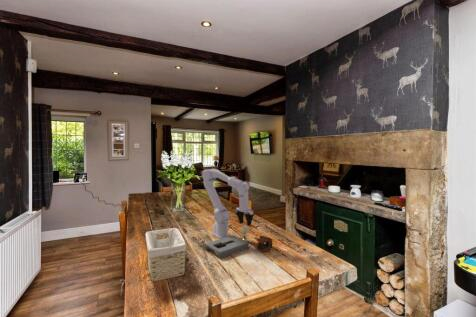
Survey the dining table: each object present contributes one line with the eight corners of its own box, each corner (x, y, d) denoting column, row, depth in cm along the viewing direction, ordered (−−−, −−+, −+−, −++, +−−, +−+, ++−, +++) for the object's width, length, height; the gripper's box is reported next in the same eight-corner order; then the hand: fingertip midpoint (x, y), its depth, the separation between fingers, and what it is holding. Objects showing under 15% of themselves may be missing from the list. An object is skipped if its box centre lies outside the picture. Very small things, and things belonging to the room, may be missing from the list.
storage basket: (187, 276, 105) (187, 243, 104) (148, 285, 98) (147, 250, 97) (178, 254, 127) (177, 226, 126) (145, 259, 120) (145, 231, 119)
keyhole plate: (219, 259, 121) (219, 252, 121) (204, 249, 132) (204, 243, 131) (248, 248, 134) (248, 242, 133) (233, 240, 144) (233, 235, 144)
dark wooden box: (251, 248, 134) (255, 234, 138) (264, 253, 138) (268, 239, 141) (263, 251, 124) (267, 235, 127) (277, 256, 127) (281, 241, 130)
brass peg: (239, 240, 145) (239, 226, 145) (245, 238, 148) (245, 224, 148) (244, 242, 142) (244, 228, 142) (249, 240, 145) (250, 226, 144)
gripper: (256, 202, 141) (258, 225, 141) (242, 199, 152) (243, 220, 152) (247, 204, 136) (248, 228, 137) (233, 201, 148) (234, 223, 148)
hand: (245, 224), depth 144 cm, fingers open, 7 cm apart
